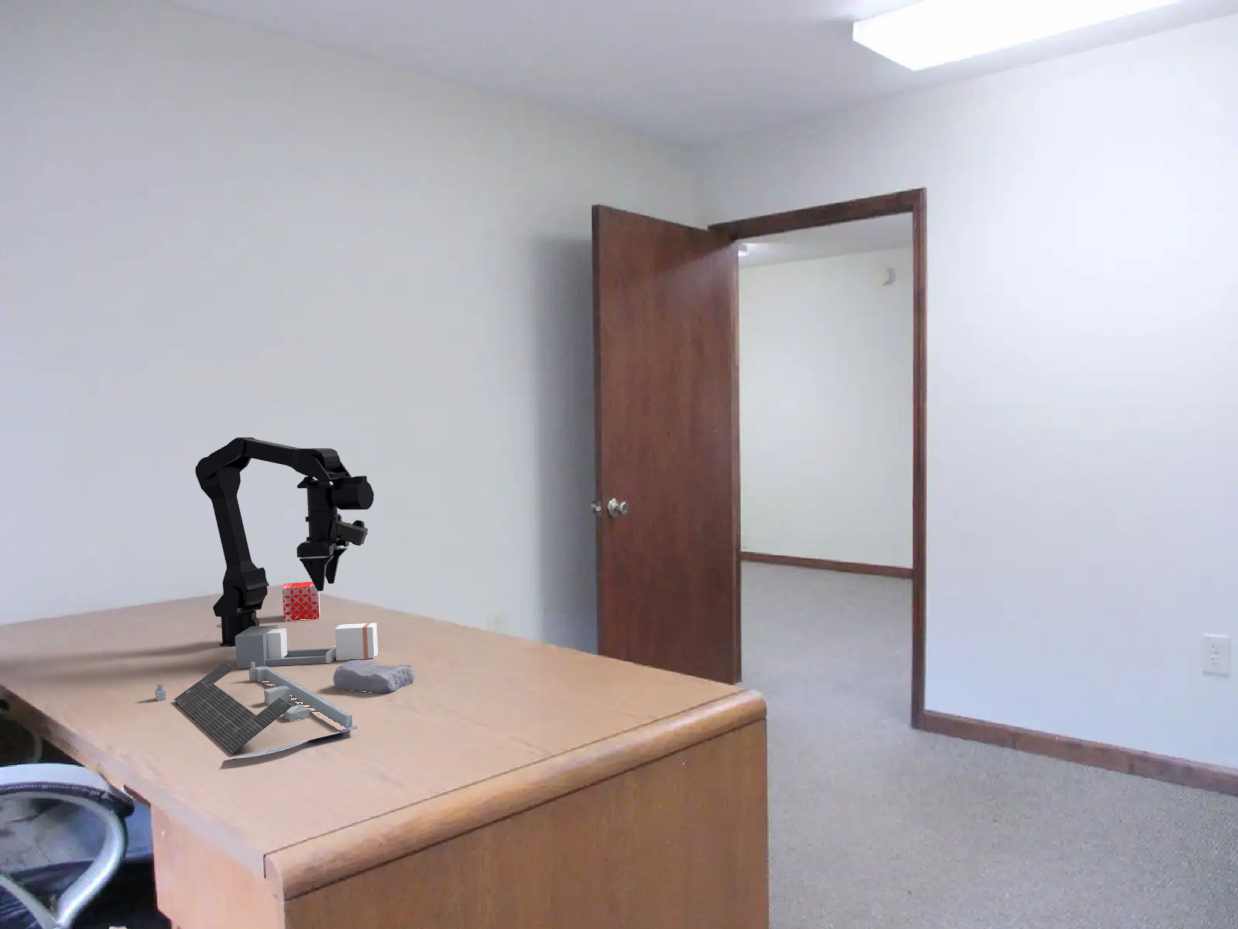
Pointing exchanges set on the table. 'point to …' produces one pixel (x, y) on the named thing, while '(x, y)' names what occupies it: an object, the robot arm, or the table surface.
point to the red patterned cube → (300, 601)
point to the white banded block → (356, 641)
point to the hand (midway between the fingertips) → (326, 587)
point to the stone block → (372, 676)
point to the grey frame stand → (275, 649)
